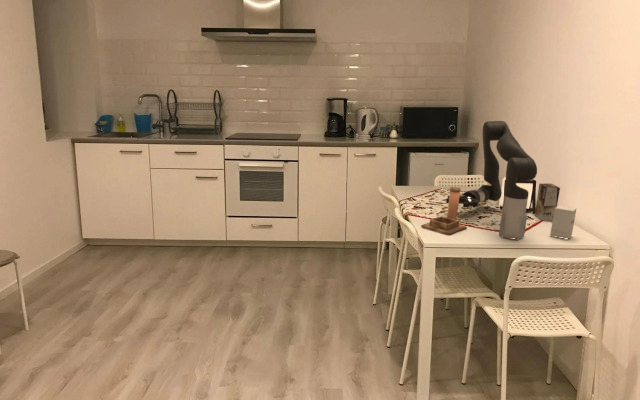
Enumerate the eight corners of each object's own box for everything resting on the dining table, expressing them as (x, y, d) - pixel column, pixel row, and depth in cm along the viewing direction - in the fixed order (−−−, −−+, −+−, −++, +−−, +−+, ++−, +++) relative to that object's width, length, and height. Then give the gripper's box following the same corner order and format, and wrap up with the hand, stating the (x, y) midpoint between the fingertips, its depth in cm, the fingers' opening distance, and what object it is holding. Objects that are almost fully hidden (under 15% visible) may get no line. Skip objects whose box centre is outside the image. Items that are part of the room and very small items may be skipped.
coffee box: (555, 221, 242) (560, 187, 238) (541, 220, 243) (546, 187, 238) (547, 215, 251) (552, 183, 247) (534, 215, 251) (539, 182, 247)
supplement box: (568, 240, 216) (573, 211, 213) (549, 236, 220) (554, 207, 217) (572, 236, 222) (577, 207, 218) (553, 232, 226) (558, 204, 223)
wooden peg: (458, 220, 237) (462, 188, 233) (453, 222, 234) (457, 189, 230) (449, 218, 240) (453, 186, 236) (444, 220, 237) (448, 187, 233)
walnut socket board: (466, 229, 225) (467, 221, 224) (449, 235, 216) (450, 227, 215) (438, 221, 235) (439, 214, 234) (421, 227, 225) (421, 219, 224)
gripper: (461, 187, 251) (442, 191, 240) (488, 193, 241) (470, 198, 230) (459, 202, 253) (441, 207, 242) (486, 208, 243) (468, 214, 232)
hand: (455, 203), depth 236 cm, fingers open, 8 cm apart
